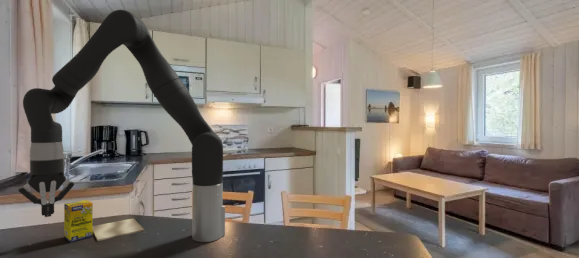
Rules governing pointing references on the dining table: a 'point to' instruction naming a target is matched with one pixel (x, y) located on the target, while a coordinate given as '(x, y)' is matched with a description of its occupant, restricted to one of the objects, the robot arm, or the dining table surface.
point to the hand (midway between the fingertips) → (48, 216)
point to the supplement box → (78, 220)
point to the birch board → (116, 229)
